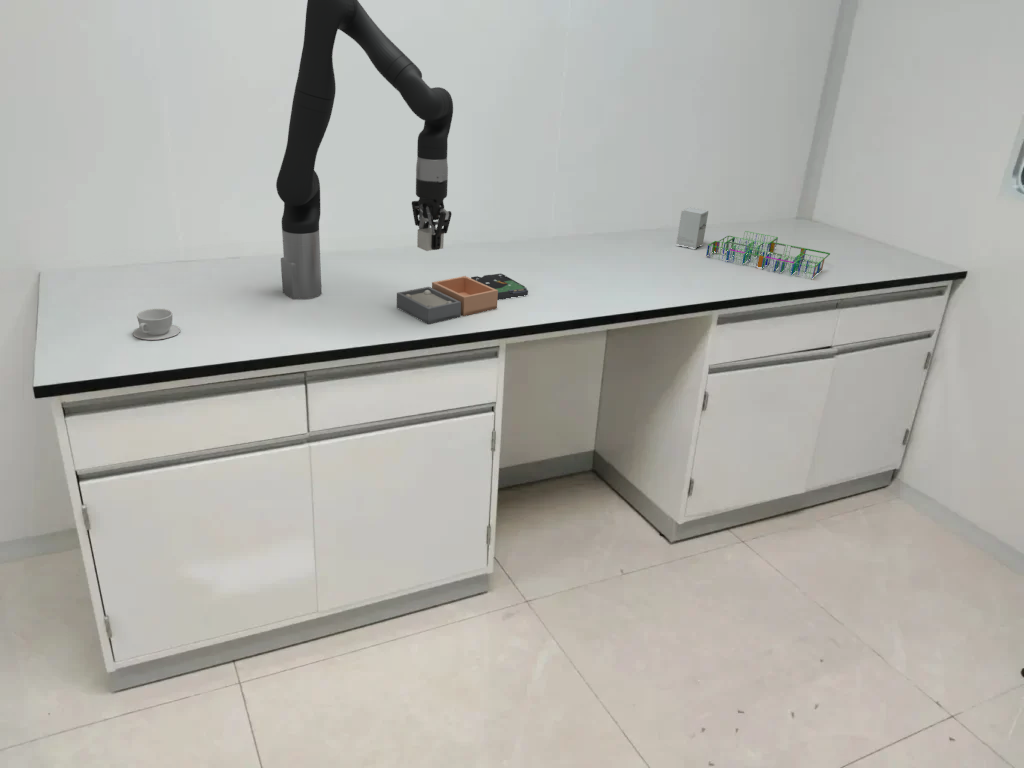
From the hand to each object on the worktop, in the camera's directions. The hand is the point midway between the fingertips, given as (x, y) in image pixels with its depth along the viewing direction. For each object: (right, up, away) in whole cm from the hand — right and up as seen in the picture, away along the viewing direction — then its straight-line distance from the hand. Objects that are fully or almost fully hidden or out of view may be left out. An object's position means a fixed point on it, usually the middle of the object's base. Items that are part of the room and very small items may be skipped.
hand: (430, 246), depth 201 cm
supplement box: (+82, +14, +83) cm, 117 cm away
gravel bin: (-1, -16, +7) cm, 17 cm away
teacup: (-61, -23, -15) cm, 67 cm away
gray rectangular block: (0, 0, 0) cm, 0 cm away
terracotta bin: (+7, -13, +14) cm, 21 cm away
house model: (+107, +7, +74) cm, 130 cm away
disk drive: (+16, -8, +27) cm, 33 cm away
